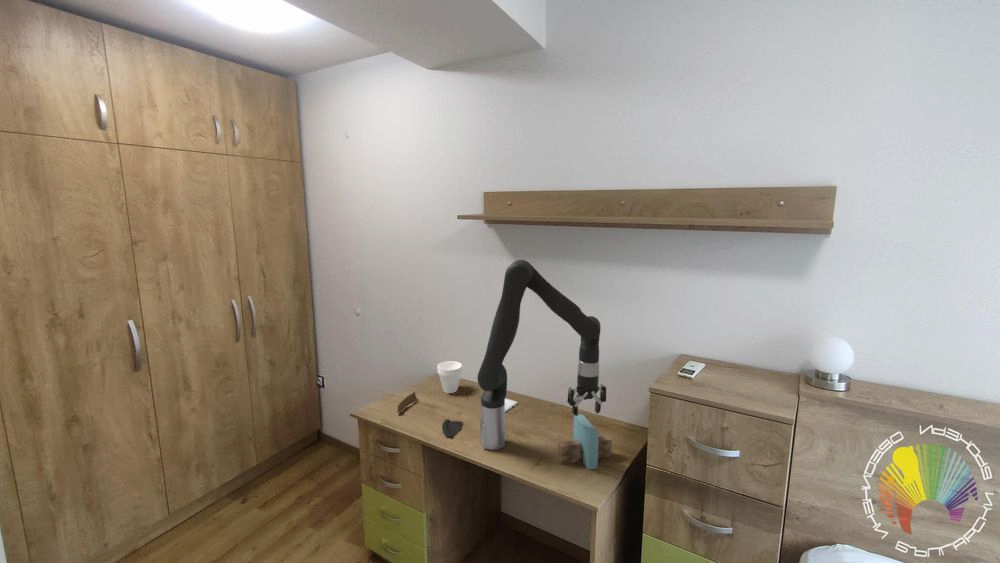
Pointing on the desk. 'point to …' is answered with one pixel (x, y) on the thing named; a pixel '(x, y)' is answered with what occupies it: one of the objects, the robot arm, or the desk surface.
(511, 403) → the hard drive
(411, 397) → the brown curved strip
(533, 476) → the desk surface
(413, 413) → the desk surface
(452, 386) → the cup
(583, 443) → the teal notched plate
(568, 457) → the walnut slotted board
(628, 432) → the desk surface
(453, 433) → the curved wedge
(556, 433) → the desk surface
